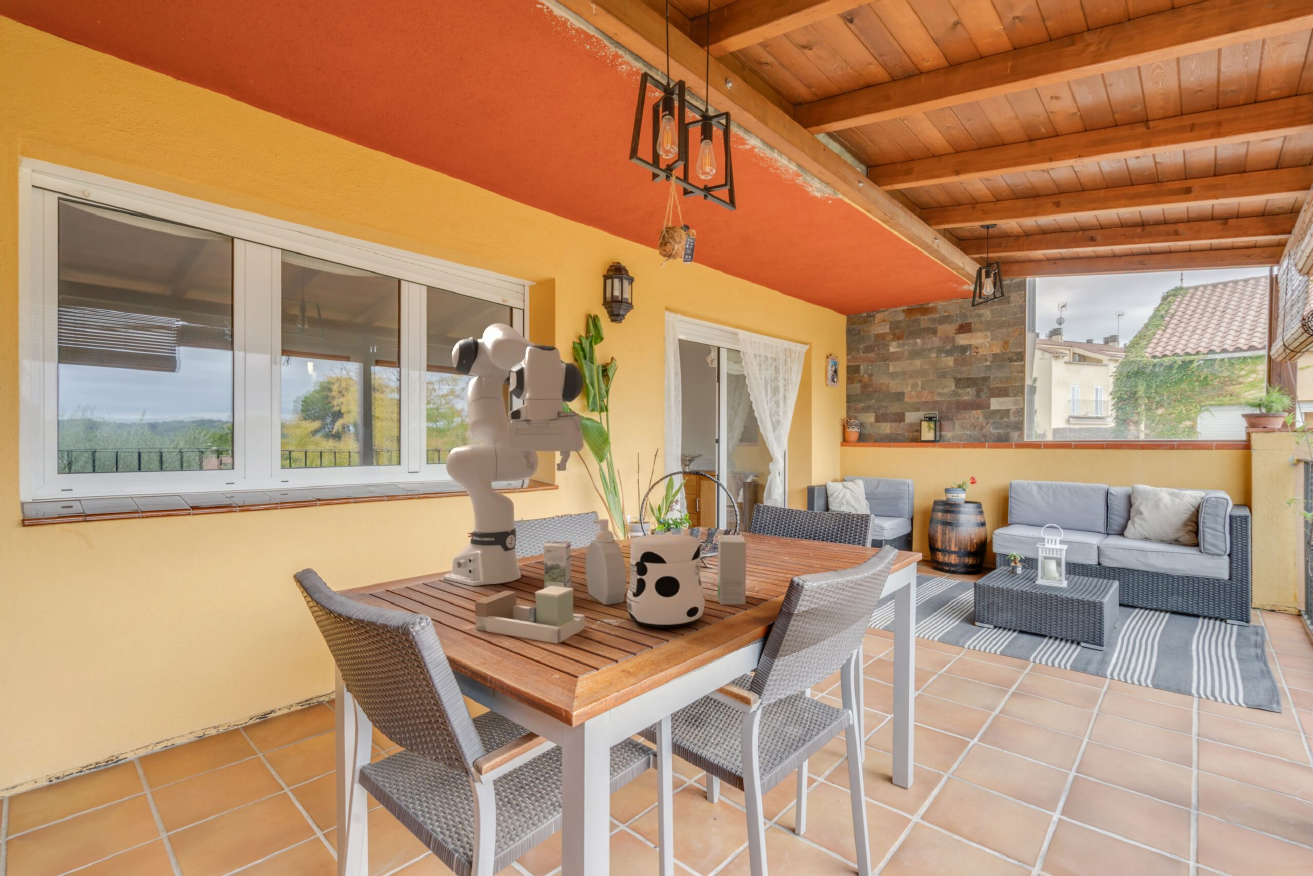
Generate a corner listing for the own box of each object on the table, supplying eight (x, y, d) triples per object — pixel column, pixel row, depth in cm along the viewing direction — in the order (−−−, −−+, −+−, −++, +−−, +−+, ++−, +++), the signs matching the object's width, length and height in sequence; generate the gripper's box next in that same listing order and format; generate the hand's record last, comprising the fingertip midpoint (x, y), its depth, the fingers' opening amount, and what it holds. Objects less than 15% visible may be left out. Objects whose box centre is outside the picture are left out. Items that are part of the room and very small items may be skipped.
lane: (475, 629, 132) (475, 601, 132) (506, 616, 141) (505, 590, 141) (557, 643, 123) (556, 613, 122) (584, 628, 131) (584, 601, 131)
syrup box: (572, 597, 157) (571, 540, 156) (566, 603, 151) (565, 544, 151) (550, 596, 157) (549, 540, 157) (543, 603, 151) (542, 544, 151)
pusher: (518, 632, 129) (517, 606, 129) (538, 623, 135) (537, 598, 135) (534, 635, 127) (533, 608, 127) (553, 625, 133) (553, 600, 133)
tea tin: (535, 635, 128) (535, 592, 128) (552, 627, 133) (551, 585, 133) (558, 639, 125) (557, 595, 125) (574, 631, 130) (573, 588, 130)
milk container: (718, 616, 139) (717, 537, 138) (679, 639, 124) (677, 550, 124) (655, 605, 148) (653, 531, 148) (611, 625, 134) (609, 543, 133)
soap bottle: (584, 592, 161) (582, 516, 161) (603, 589, 163) (602, 515, 163) (606, 608, 147) (605, 525, 146) (627, 605, 149) (625, 523, 149)
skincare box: (717, 595, 156) (716, 534, 155) (743, 595, 155) (743, 534, 155) (719, 605, 147) (718, 540, 147) (747, 605, 147) (746, 540, 147)
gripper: (588, 411, 144) (589, 470, 145) (519, 413, 153) (520, 469, 154) (572, 411, 139) (574, 472, 139) (502, 413, 148) (503, 470, 148)
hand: (545, 470), depth 146 cm, fingers open, 8 cm apart
